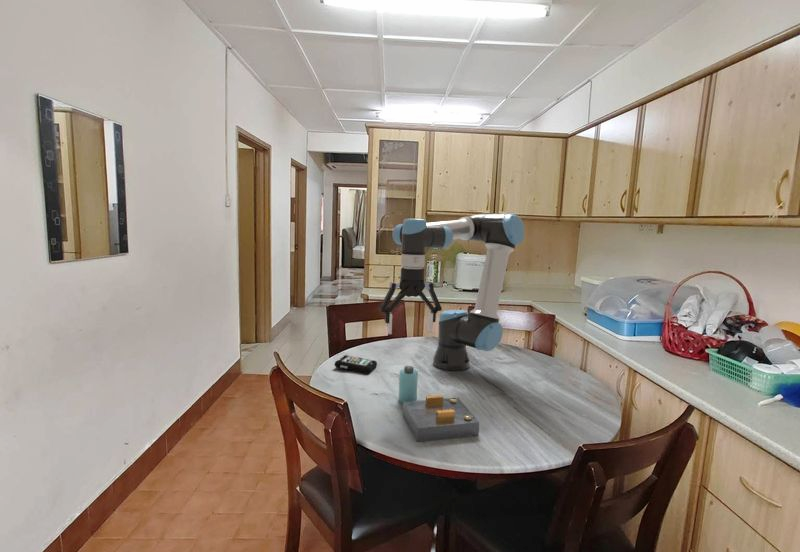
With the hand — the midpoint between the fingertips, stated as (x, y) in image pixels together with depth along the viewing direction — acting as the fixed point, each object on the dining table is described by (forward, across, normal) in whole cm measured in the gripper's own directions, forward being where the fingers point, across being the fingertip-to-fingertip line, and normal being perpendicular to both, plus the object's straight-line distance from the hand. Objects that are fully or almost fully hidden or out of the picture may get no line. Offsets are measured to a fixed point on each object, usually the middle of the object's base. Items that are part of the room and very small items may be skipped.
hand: (409, 332), depth 131 cm
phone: (+24, -13, +32) cm, 42 cm away
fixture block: (+23, +5, -17) cm, 29 cm away
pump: (+23, 0, 0) cm, 23 cm away
